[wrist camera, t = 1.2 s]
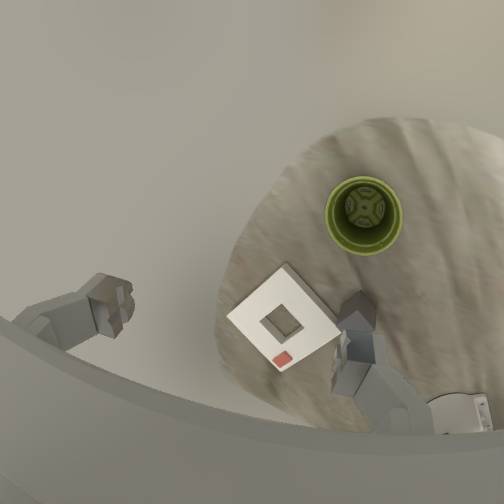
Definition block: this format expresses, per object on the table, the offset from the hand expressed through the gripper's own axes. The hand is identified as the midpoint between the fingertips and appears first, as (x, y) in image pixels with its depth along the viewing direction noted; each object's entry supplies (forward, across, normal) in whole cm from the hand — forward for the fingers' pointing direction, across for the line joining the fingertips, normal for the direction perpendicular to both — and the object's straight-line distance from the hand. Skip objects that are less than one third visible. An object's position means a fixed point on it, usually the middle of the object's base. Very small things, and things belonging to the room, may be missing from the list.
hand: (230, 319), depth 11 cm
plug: (+31, +14, -20) cm, 40 cm away
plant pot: (+34, +11, -5) cm, 36 cm away
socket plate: (+32, +3, -26) cm, 42 cm away
